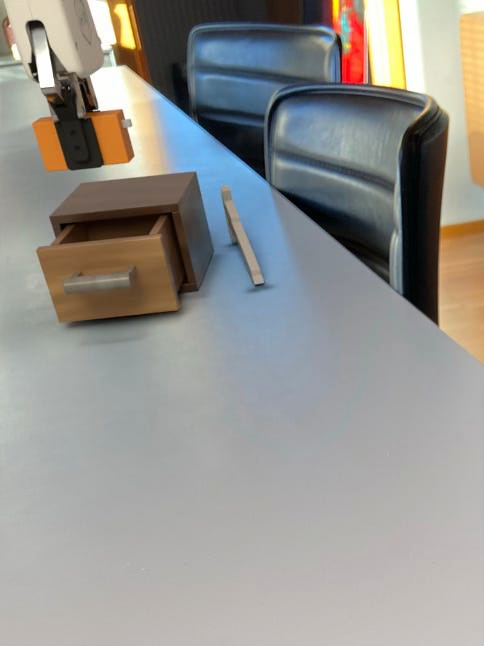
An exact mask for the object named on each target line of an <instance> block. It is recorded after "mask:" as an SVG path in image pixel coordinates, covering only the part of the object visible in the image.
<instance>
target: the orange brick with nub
mask: <svg viewBox="0 0 484 646" xmlns="http://www.w3.org/2000/svg"><path fill="white" fill-rule="evenodd" d="M86 115H87V118H90V117H91V118H92V122H93V125H94V129H95V133H96V136H97V140H98V143H99V147H100V151H101V154H102V158H103V161H104V164H103V166H102V167H105V166H113V165H122V164H129V163H131V161H132V160H133V159H134V158H135V157H136V156H135V151H134V148H133V144H132V140H131V137H130V132H129V128H132V127H133V123H132V119H131V118H126V117H125V113H124V110H123V108H119V109H118V108H117V109H109V110H100V111H99V112H89V113H86ZM31 125H32V129H33V132H34V136H35V138H36V142H37V146H38V148H39V152H40V155H41V158H42V161H43V164H44V168H45V171H46V172H49V173H50V172H58V171H67V170H69V169H68V168H67V165H66V162H65V159H64V155H63V152H62V149H61V145H60V142H59V139H58V135H57V132H56V129H55V125H54V121H53V119H52V116H51V115H50V116H42V117H39V118H38V119H37V120H35V121H34V122H32V123H31Z"/></svg>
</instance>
